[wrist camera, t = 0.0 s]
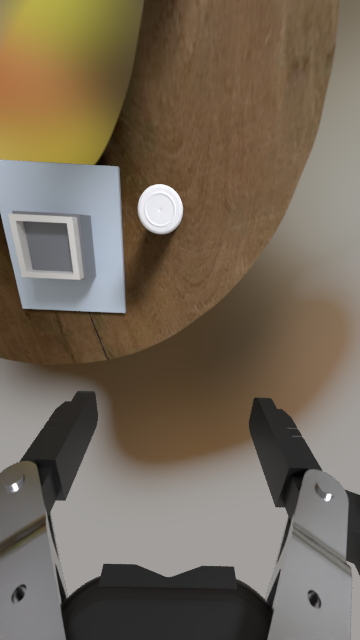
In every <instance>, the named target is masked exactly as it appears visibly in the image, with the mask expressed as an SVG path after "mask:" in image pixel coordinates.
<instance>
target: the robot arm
mask: <svg viewBox="0 0 360 640" xmlns="http://www.w3.org/2000/svg"><path fill="white" fill-rule="evenodd" d="M97 421H98V411H97V403H96V395H95V392H93V391H78V392H77V393H76V394H75V396H74V397H73V399H72V401H71V402H68V401H67V402H64V403H63V404H62V405H60V406H59V407H58V408H57V409H55V411H54V413H53V414H52V415H51V417H50V418H49V421H47V423H46V424H45V426H44V428H43V429H42V430H41V431H40V433H39V435H38V436H37V437H36V439H35V440H34V442H33V443H32V444H31V446H30V448H29V449H28V450H27V452H26V453H25V455H24V456H23V458H22V459H21V460H20V462H18V463H15V464H13V465H11V466H9V467H7V468H6V469H4V470H3V471H2V472H1V473H0V640H350V637H351V601H352V572H351V568H350V566H349V565H347V563H346V561H349V562H351V563H354V564H355V566H356V568H357V570H358V572H359V575H360V495H358V494H355V493H352V492H349V491H347V490H345V489H344V488H343V487H342V485H341V484H340V483H339V482H338V481H337V480H336V479H335V478H333V477H332V476H331V475H329V474H327V473H326V472H323V471H322V469H321V468H320V466H319V464H318V462H317V461H316V459H315V457H314V456H313V454H312V452H311V450H310V449H309V447H308V445H307V444H306V442H305V440H304V439H303V438H302V435H301V433H300V432H299V430H298V429H297V427H296V425H295V423H294V422H293V420H292V418H291V417H290V416H289V415H288V414H287V413H286V412H285V411H283V410H282V409H277V408H276V406H275V404H274V402H273V401H272V399H271V398H254V400H253V406H252V410H251V415H250V419H249V430H250V434H251V437H252V440H253V442H254V445H255V449H256V451H257V454H258V457H259V460H260V463H261V466H262V469H263V472H264V475H265V478H266V481H267V484H268V486H269V489H270V492H271V495H272V498H273V501H274V504H275V507H285V508H286V511H287V513H288V518H287V521H286V525H285V529H284V533H283V537H282V541H281V544H280V548H279V552H278V556H277V560H276V563H275V567H274V571H273V574H272V577H271V580H270V583H269V587H268V590H267V594H266V597H265V599H263V597H262V596H260V594H259V593H257V592H256V591H255V590H254V589H252V588H251V587H250V586H248V585H247V584H245V583H243V582H242V581H240V580H237V579H236V577H235V571H234V567H227V566H226V567H224V566H223V567H222V566H201V567H198V568H195V569H192V570H190V571H187V572H184V573H181V574H179V575H176V576H173V577H164V576H162V575H160V574H157V573H155V572H153V571H150V570H148V569H145V568H143V567H140V566H138V565H133V564H103V569H102V573H101V576H99V577H97V578H95V579H93V580H91V581H89V582H87V583H85V584H84V585H82V586H81V587H80V588H78V589H77V590H76V591H75V592H73V593H72V594H71V595H70V596H69V597H68V594H67V589H66V584H65V580H64V576H63V572H62V568H61V563H60V558H59V553H58V548H57V543H56V538H55V533H54V527H53V522H52V517H51V513H50V511H51V509H52V507H53V505H54V503H55V501H56V500H66V498H67V495H68V493H69V490H70V488H71V486H72V483H73V481H74V479H75V476H76V474H77V471H78V469H79V467H80V464H81V462H82V459H83V457H84V454H85V452H86V450H87V447H88V445H89V443H90V440H91V437H92V436H93V433H94V431H95V429H96V425H97Z"/></svg>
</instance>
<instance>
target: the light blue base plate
mask: <svg viewBox="0 0 360 640" xmlns="http://www.w3.org/2000/svg"><path fill="white" fill-rule="evenodd" d="M0 213H1V218H2V222H3V226H4V230H5V235H6V239H7V243H8V248H9V252H10V256H11V261H12V265H13V269H14V273H15V278H16V282H17V286H18V291H19V295H20V299H21V304H22V308H23V309H45V310H67V311H90V312H112V313H126V297H125V275H124V254H123V232H122V211H121V189H120V168H119V167H118V166H102V165H82V164H66V163H47V162H31V161H13V160H12V161H11V160H0Z"/></svg>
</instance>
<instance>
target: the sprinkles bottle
mask: <svg viewBox="0 0 360 640" xmlns="http://www.w3.org/2000/svg"><path fill="white" fill-rule="evenodd" d="M138 215H139V218H140V220H141V222H142V224H143V225H144V226H145V228H147V229H148V230H149V231H151V232H153V233H156V234H167V233H170V232H172V231H173V230H175V229H176V228H177V227H178V226H179V224H180V222H181V219H182V216H183V206H182V202H181V199H180V197H179V195H178V194H177V193H176V192H175V191H174V190H173V189H172V188H171V187H169V186H166V185H162V184H157V185H153V186H150V187H149V188H147V189H146V190H145V191H144V192H143V193H142V195H141V197H140V199H139V203H138Z"/></svg>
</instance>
